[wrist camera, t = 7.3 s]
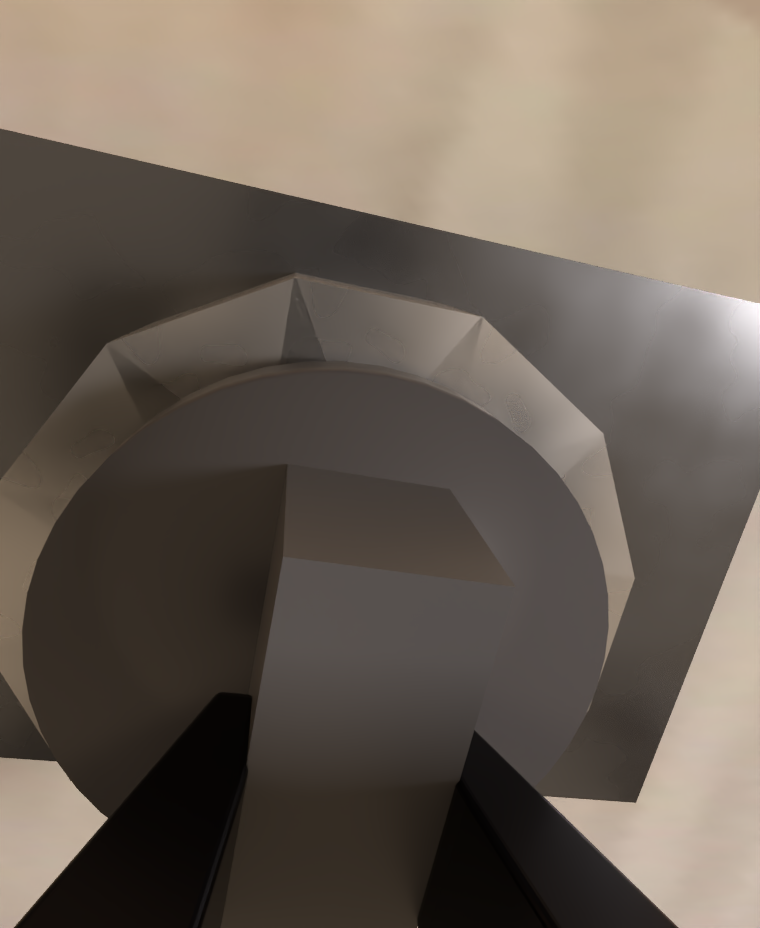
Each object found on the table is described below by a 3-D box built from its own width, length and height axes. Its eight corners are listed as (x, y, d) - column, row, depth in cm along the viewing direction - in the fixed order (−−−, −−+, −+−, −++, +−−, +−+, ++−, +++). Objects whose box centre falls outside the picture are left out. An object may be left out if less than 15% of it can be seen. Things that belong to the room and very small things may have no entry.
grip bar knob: (91, 697, 12) (-99, 1097, 6) (127, 295, 10) (-103, 342, 4) (467, 730, 14) (595, 1086, 8) (566, 380, 12) (846, 505, 6)
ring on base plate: (-117, 681, 15) (-314, 883, 10) (-127, 109, 11) (-431, 3, 7) (600, 744, 18) (708, 921, 13) (757, 310, 14) (980, 337, 10)
